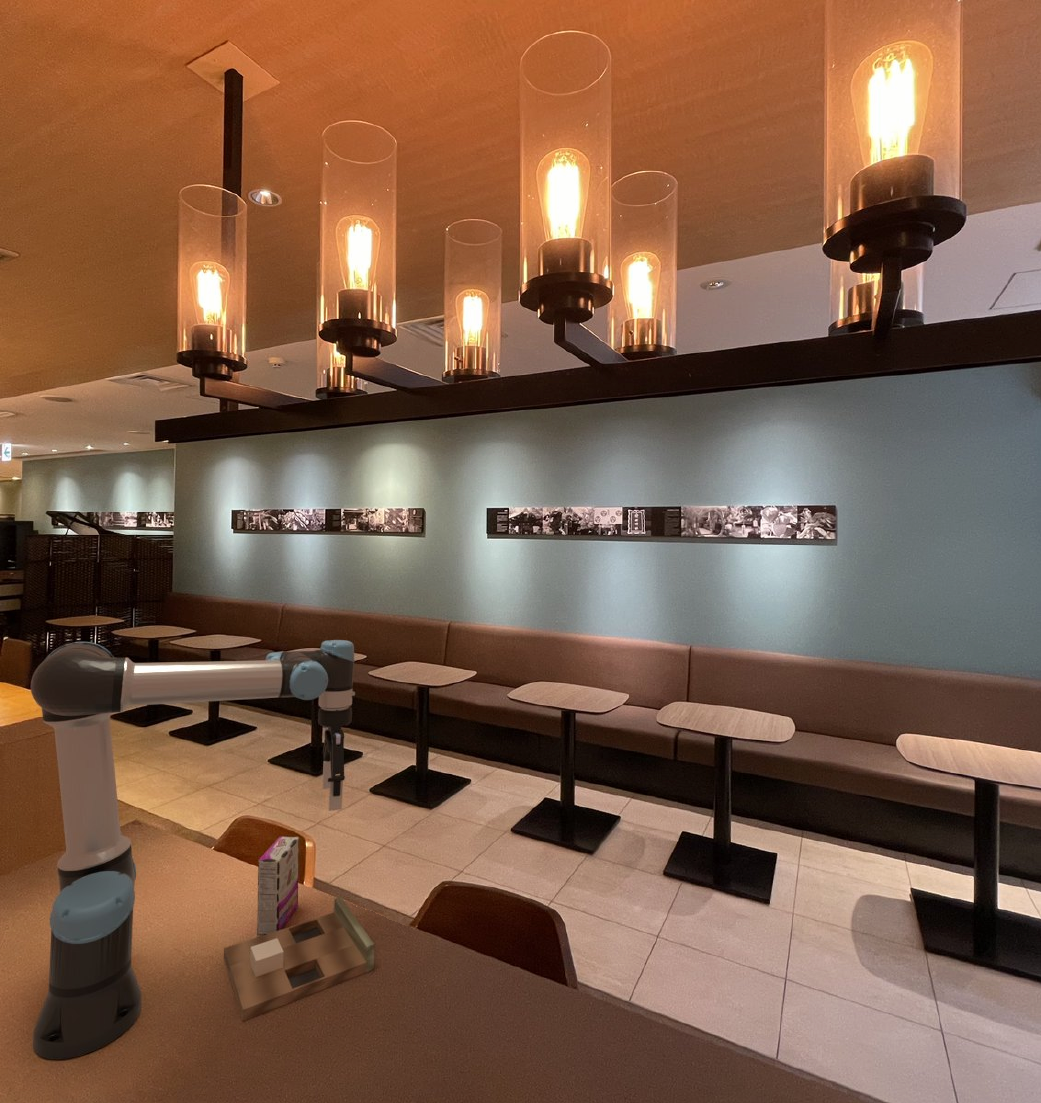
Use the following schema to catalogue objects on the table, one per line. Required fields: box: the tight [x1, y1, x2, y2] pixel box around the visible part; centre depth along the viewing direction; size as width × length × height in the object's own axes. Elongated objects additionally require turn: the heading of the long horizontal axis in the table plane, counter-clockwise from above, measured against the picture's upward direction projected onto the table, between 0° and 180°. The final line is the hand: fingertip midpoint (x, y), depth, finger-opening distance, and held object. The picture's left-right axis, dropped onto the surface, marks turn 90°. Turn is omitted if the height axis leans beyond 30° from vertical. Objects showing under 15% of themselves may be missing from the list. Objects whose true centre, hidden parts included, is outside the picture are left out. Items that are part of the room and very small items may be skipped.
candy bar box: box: [256, 836, 300, 936], centre depth 133 cm, size 11×5×16 cm, turn 179°
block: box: [250, 938, 284, 977], centre depth 115 cm, size 5×5×3 cm
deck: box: [223, 896, 375, 1022], centre depth 119 cm, size 24×20×5 cm
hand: (331, 798), depth 138 cm, fingers open, 13 cm apart
